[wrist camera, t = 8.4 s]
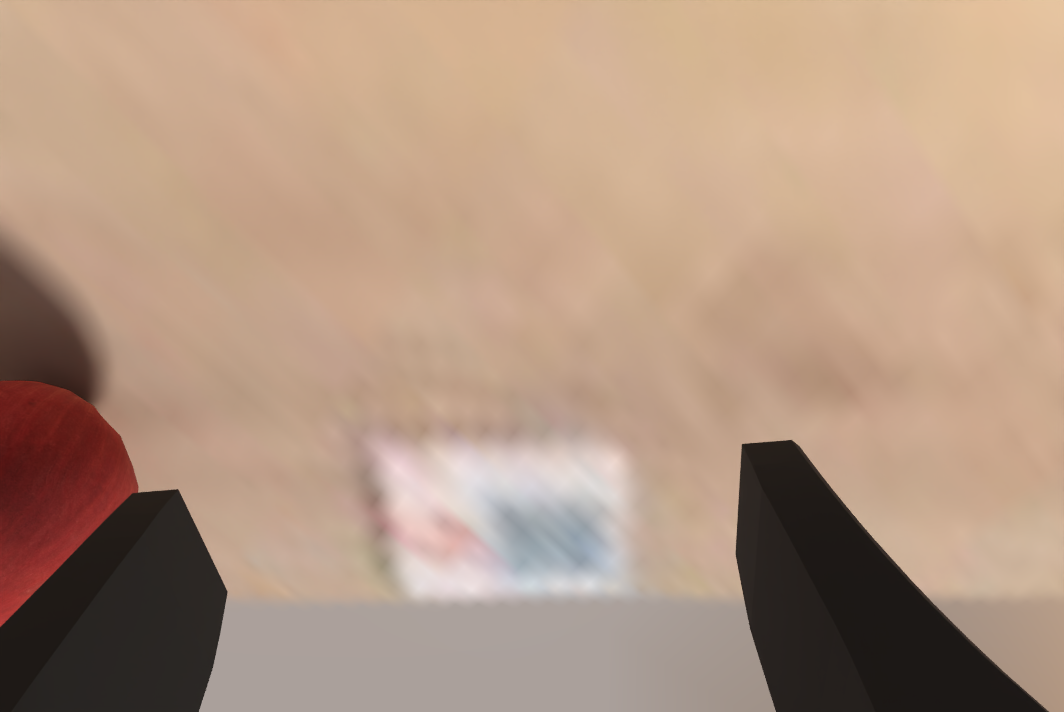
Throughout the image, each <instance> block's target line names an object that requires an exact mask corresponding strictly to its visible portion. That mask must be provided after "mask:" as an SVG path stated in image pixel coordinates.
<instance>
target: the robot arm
mask: <svg viewBox="0 0 1064 712" xmlns="http://www.w3.org/2000/svg"><path fill="white" fill-rule="evenodd" d="M736 559H737V564H738V569H739V574H740V580H741V585H742V590H743V595H744V600H745V605H746V610H747V615H748V620H749V625H750V630H751V633H752V636H753V640H754V642H755V646H756V649H757V652H758V656H759V659H760V662H761V665H762V668H763V672H764V675H765V678H766V681H767V684H768V688H769V691H770V694H771V697H772V700H773V703H774V707H775V710H776V712H1049V711H1047V710H1046V709H1045V708H1044V707H1043V706H1041V704H1039V703H1038V702H1037V701H1036V700H1035V699H1034V698H1033V697H1031V696H1030V695H1029V694H1028V693H1027V692H1026V691H1025V690H1023V689H1022V688H1021V687H1020V686H1019V685H1018V684H1017V683H1016V682H1014V681H1013V680H1012V679H1011V678H1010V677H1009V676H1008V675H1007V674H1005V673H1004V672H1003V671H1002V670H1001V669H1000V668H999V667H998V666H997V665H996V664H995V663H994V662H993V661H991V660H990V659H989V658H988V657H987V656H986V655H985V654H984V653H983V652H982V651H981V650H980V649H979V648H978V647H977V646H975V644H974V643H973V642H971V641H970V640H969V639H968V638H967V637H966V636H965V635H964V634H963V633H962V632H961V631H960V630H959V629H958V628H957V627H956V626H955V625H954V624H953V623H952V622H951V621H950V620H949V619H948V618H947V617H946V616H945V615H944V614H943V613H942V612H941V611H940V610H939V609H938V608H937V607H936V606H935V605H934V604H933V603H932V602H931V601H930V600H929V598H928V597H927V596H926V595H925V594H924V593H923V592H922V591H921V590H920V589H919V588H918V587H917V586H916V585H915V584H914V583H913V582H912V581H911V580H910V578H909V577H908V576H907V575H906V574H905V573H904V572H903V571H902V570H901V568H900V567H899V566H898V565H897V564H896V563H895V562H894V561H893V560H892V559H891V557H890V556H889V555H888V554H887V553H886V552H885V551H884V550H883V549H882V547H881V546H880V545H879V544H878V543H877V542H876V541H875V540H874V539H873V537H872V536H871V535H870V534H869V533H868V532H867V530H866V529H865V528H864V527H863V526H862V525H861V523H860V522H859V521H858V520H857V519H856V517H855V516H854V515H853V514H852V513H851V511H850V510H849V509H848V508H847V507H846V505H845V504H844V503H843V502H842V501H841V499H840V498H839V497H838V496H837V494H836V493H835V492H834V491H833V489H832V488H831V487H830V486H829V484H828V483H827V482H826V481H825V479H824V478H823V477H822V475H821V474H820V473H819V472H818V470H817V469H816V468H815V466H814V465H813V464H812V462H811V461H810V460H809V458H808V457H807V456H806V454H805V453H804V452H803V450H802V449H801V448H800V446H798V445H797V444H796V443H795V442H793V441H792V440H786V441H774V442H762V443H749V444H742V453H741V470H740V488H739V505H738V522H737V539H736ZM226 597H227V590H226V588H225V585H224V583H223V581H222V579H221V577H220V575H219V573H218V571H217V569H216V567H215V565H214V563H213V561H212V558H211V556H210V554H209V552H208V550H207V548H206V546H205V544H204V542H203V540H202V538H201V536H200V533H199V531H198V529H197V527H196V525H195V523H194V521H193V519H192V517H191V515H190V513H189V511H188V509H187V506H186V504H185V502H184V500H183V498H182V496H181V494H180V492H179V490H178V489H177V490H165V491H152V492H140V493H132V494H131V495H130V496H129V497H128V498H127V499H126V500H125V501H124V502H123V503H122V504H121V505H120V506H119V507H118V508H117V509H116V510H115V511H114V512H113V513H112V514H111V515H110V516H109V517H108V518H107V519H106V520H105V521H104V522H103V523H102V524H101V525H100V526H99V527H98V528H97V529H96V530H95V531H94V532H93V533H92V534H91V535H90V536H89V537H88V538H87V539H86V540H85V541H84V542H83V543H82V544H81V545H80V546H79V547H78V548H77V549H76V550H75V551H74V552H73V554H72V555H71V556H70V557H69V558H68V559H67V560H66V561H65V562H64V563H63V564H62V565H61V566H60V567H59V568H58V569H57V570H56V571H55V572H54V573H53V574H52V575H51V576H50V577H49V578H48V579H47V580H46V581H45V582H44V583H43V584H42V585H41V586H40V587H39V588H38V589H37V590H36V591H35V592H34V593H33V594H32V595H31V596H30V597H29V598H28V599H27V600H26V601H25V602H24V603H23V604H22V606H21V607H20V608H19V609H18V610H17V611H16V612H15V613H14V614H13V615H12V616H11V617H10V618H9V619H8V620H7V621H6V622H5V623H4V624H3V625H2V626H1V627H0V712H199V709H200V706H201V703H202V700H203V697H204V693H205V691H206V687H207V684H208V681H209V678H210V675H211V671H212V668H213V664H214V660H215V655H216V650H217V645H218V641H219V636H220V631H221V625H222V620H223V614H224V609H225V603H226Z"/></svg>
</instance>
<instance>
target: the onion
mask: <svg viewBox="0 0 1064 712" xmlns="http://www.w3.org/2000/svg"><path fill="white" fill-rule="evenodd" d="M132 493H138V484H137V480H136V476H135V473H134V469H133V466H132V463H131V461H130V458H129V456H128V454H127V451H126V449H125V446H124V444H123V441H122V439H121V436H120V435H119V434H118V433H117V432H116V431H115V430H114V429H113V428H112V427H111V426H110V425H109V424H108V423H107V422H106V421H105V420H104V419H103V417H102V416H101V415H100V414H99V412H98V411H97V410H96V408H95V407H94V406H93V405H91V404H90V403H88V402H87V401H85V400H84V399H82V398H80V397H79V396H77V395H76V394H74V393H73V392H71V391H69V390H67V389H63V388H60V387H56V386H53V385H49V384H46V383H42V382H38V381H20V380H18V381H0V627H1V626H2V625H3V624H4V623H5V622H6V621H7V620H8V619H9V618H10V617H11V616H12V615H13V614H14V613H15V612H16V611H17V610H18V609H19V608H20V607H21V606H22V604H23V603H24V602H25V601H26V600H27V599H28V598H29V597H30V596H31V595H32V594H33V593H34V592H35V591H36V590H37V589H38V588H39V587H40V586H41V585H42V584H43V583H44V582H45V581H46V580H47V579H48V578H49V577H50V576H51V575H52V574H53V573H54V572H55V571H56V570H57V569H58V568H59V567H60V566H61V565H62V564H63V563H64V562H65V561H66V560H67V559H68V558H69V557H70V556H71V555H72V554H73V552H74V551H75V550H76V549H77V548H78V547H79V546H80V545H81V544H82V543H83V542H84V541H85V540H86V539H87V538H88V537H89V536H90V535H91V534H92V533H93V532H94V531H95V530H96V529H97V528H98V527H99V526H100V525H101V524H102V523H103V522H104V521H105V520H106V519H107V518H108V517H109V516H110V515H111V514H112V513H113V512H114V511H115V510H116V509H117V508H118V507H119V506H120V505H121V504H122V503H123V502H124V501H125V500H126V499H127V498H128V497H129V496H130V495H131V494H132Z"/></svg>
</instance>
